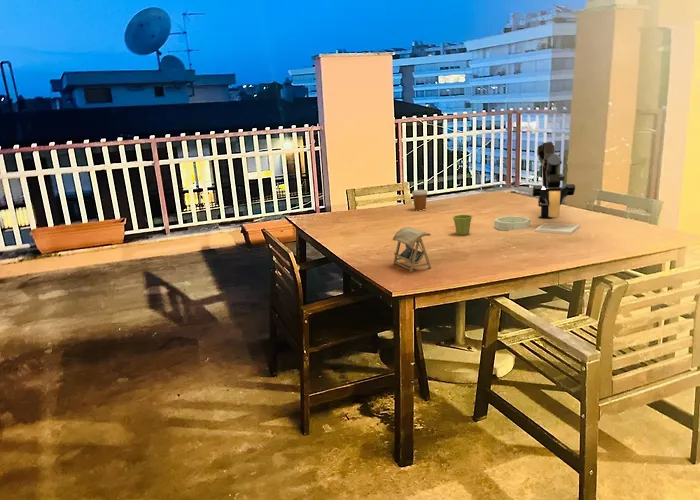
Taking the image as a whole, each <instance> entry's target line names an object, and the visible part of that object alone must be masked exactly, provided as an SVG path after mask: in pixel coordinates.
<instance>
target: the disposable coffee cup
mask: <svg viewBox="0 0 700 500" xmlns="http://www.w3.org/2000/svg"><path fill="white" fill-rule="evenodd" d="M428 193H429V192H428V189H415V190H412V192H411V194H412V200H413V206H414V211H415V210H423V209H425V210H426V209H427V208H426V206H427V199H428V198H427V196H428Z"/></svg>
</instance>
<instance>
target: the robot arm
mask: <svg viewBox="0 0 700 500" xmlns="http://www.w3.org/2000/svg"><path fill="white" fill-rule="evenodd" d="M555 149H556V147H555V145H554V144H553V142H550V141H549V142H542V143H541V144H540V145H538V146H537V151H536V155H537V156H538V161H539V162H540V164H541V177H542V178H541V179H542V184H538V185H537V184H534V185H533V186H532V193H531V194H532V197H538V199H537V205H538V207H539V208H540V215H539V216H538V218H539V219H552V218H553V217H549V216H548V213H549V191H552V190H559V191H560V206H562V204H563V200H564V198H565V197H567V196H574V194H575V190H576V185H575V184H574V183H567V184H565V185H564V187H561V182H565V173H559V171H560V167H561V164H562V163H563V162H562V160H561V158H560V157H559V156H558V155H557V154H556V153H555Z"/></svg>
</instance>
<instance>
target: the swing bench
mask: <svg viewBox="0 0 700 500" xmlns="http://www.w3.org/2000/svg"><path fill="white" fill-rule="evenodd" d="M431 235H432V234H431V233H429V232H425V231H422V230H420V229H416V228H414V227H411V226H404V227H403V228H400V229H399V230H398V231H397V232H396V233H395V234H394V235H393V237H392V241H396V242H397V246H396V251H395V252H394V253H393V255H394V258H393V263H394V265H396V264H397V265H398V266H401V267H403V268H405V269H407V270H409V272H410V273H413V270H414V268H415V269H416V268H419V267H425V266H428V267H427V268H428V269H432V265H431V262H430V259H429V256H428V253H427V250H426V247H425V245H424V242H423V239H422V238H423V237H430V236H431ZM401 243H402V244H404V245H405V249H404V250H403V251H402V252H401V253H399V251H400V246H401ZM418 249H420V250H418ZM423 257H424V258H425V261H426V263H423V264H419V263H420V262H422V261H421V260H422V259H423ZM400 260H402V261H404V262H406V263H409V264H410V267H408V266H407V265H405V264H402V263H401V262H398V261H400Z"/></svg>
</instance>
